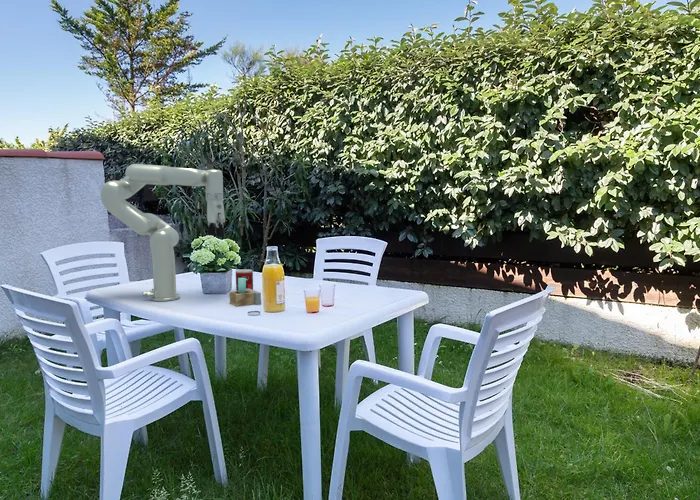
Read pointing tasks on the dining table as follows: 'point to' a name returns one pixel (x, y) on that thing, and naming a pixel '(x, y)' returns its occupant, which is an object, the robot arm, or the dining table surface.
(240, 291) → the dowel
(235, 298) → the wooden open box
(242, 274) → the canned food
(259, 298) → the wall
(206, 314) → the dining table surface
